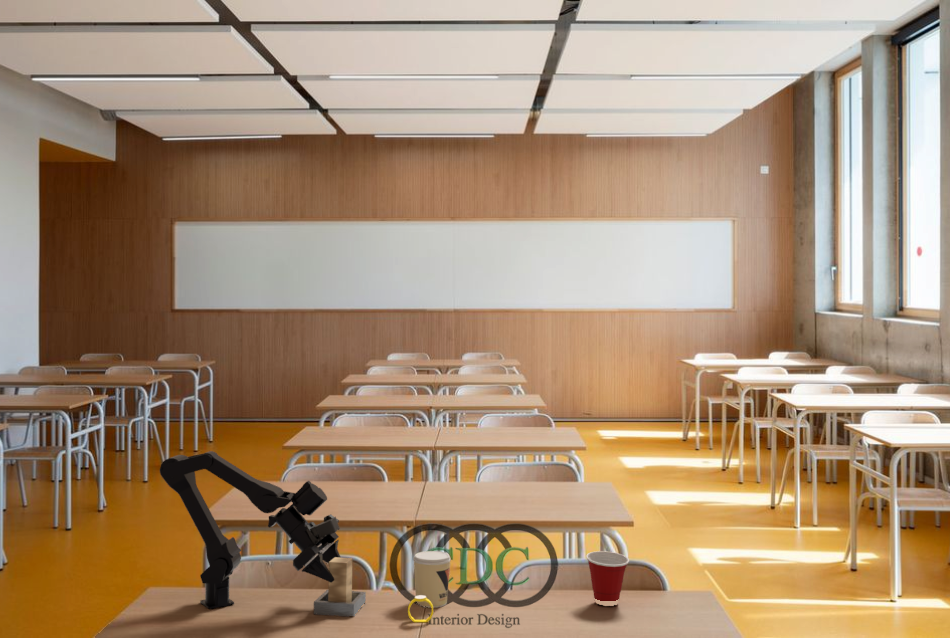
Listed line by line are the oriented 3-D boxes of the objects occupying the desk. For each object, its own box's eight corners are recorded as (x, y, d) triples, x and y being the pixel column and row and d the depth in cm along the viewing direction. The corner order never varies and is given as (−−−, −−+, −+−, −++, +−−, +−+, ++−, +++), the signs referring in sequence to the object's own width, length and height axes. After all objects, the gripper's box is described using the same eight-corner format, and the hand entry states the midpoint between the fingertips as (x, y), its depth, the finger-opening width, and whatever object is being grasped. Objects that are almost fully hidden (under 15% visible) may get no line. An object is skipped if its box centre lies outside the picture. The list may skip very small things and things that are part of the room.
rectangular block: (328, 611, 212) (328, 561, 213) (334, 605, 217) (334, 557, 217) (345, 612, 212) (346, 563, 212) (351, 606, 216) (352, 558, 216)
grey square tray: (313, 614, 210) (313, 601, 210) (327, 601, 220) (327, 589, 220) (353, 616, 209) (354, 604, 209) (365, 603, 218) (365, 591, 219)
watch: (408, 625, 204) (406, 599, 204) (408, 621, 207) (407, 595, 207) (433, 623, 205) (432, 597, 205) (433, 619, 207) (432, 594, 207)
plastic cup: (605, 613, 213) (605, 564, 214) (576, 601, 222) (577, 554, 223) (638, 606, 219) (638, 558, 219) (608, 594, 228) (609, 548, 229)
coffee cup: (445, 610, 214) (445, 561, 214) (408, 607, 216) (409, 558, 216) (453, 598, 223) (454, 551, 224) (418, 596, 225) (419, 549, 226)
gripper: (306, 514, 206) (350, 564, 204) (331, 499, 225) (372, 544, 223) (274, 545, 207) (317, 595, 206) (301, 528, 226) (341, 573, 224)
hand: (339, 575), depth 214 cm, fingers open, 9 cm apart
